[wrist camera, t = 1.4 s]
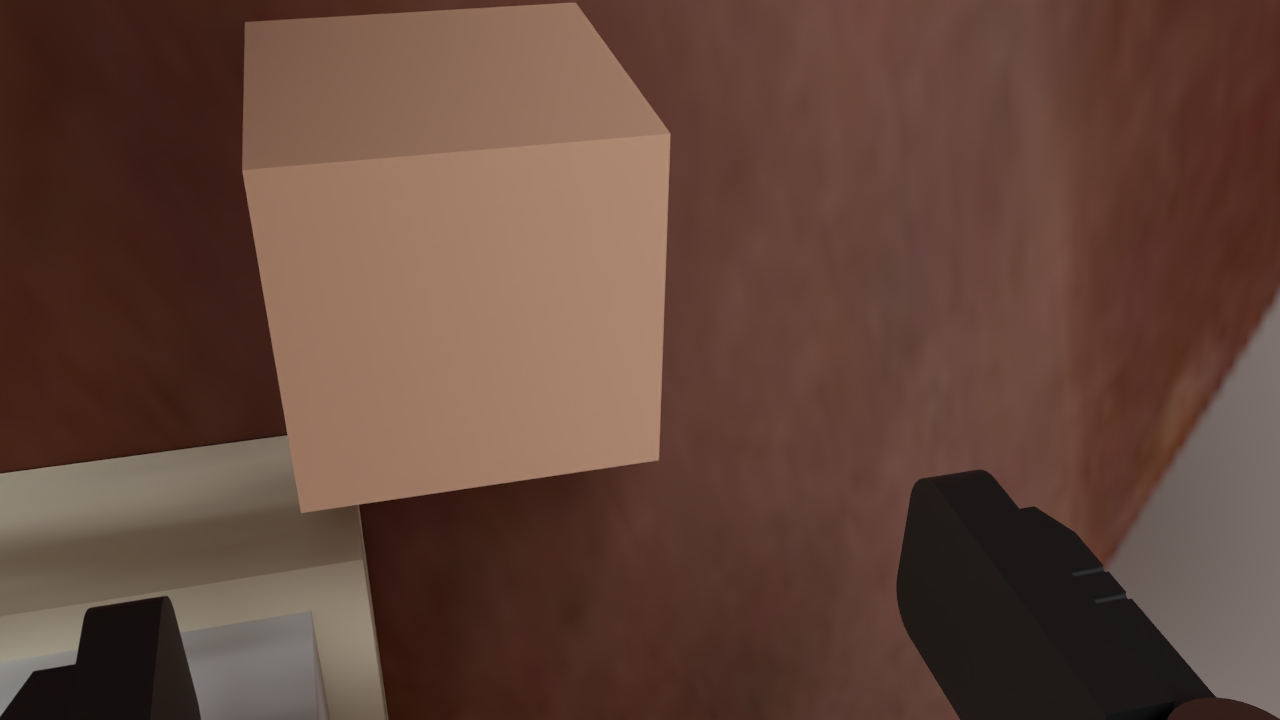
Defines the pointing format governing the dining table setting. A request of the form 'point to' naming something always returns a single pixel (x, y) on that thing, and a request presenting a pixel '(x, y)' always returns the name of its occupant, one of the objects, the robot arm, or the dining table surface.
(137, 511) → the stepped translucent block
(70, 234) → the dining table surface
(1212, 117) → the dining table surface
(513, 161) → the top block
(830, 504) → the dining table surface
